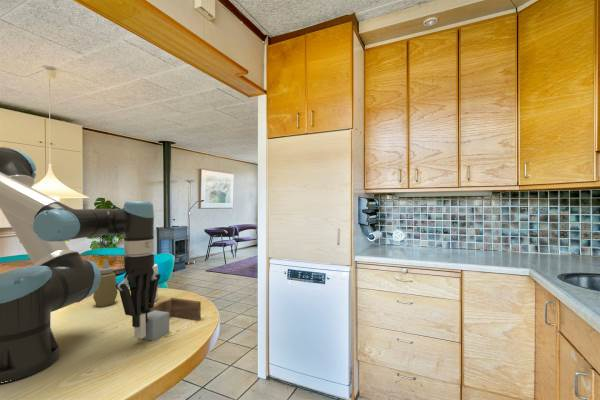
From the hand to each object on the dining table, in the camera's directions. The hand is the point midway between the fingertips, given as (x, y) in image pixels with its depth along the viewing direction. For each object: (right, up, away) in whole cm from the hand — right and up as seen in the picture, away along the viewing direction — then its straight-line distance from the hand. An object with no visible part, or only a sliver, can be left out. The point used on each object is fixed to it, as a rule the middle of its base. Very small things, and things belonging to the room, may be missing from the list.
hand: (140, 336), depth 81 cm
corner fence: (+4, -2, +14) cm, 14 cm away
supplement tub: (-18, -3, +35) cm, 40 cm away
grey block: (+1, -2, +5) cm, 5 cm away
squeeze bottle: (-32, -3, +32) cm, 46 cm away
